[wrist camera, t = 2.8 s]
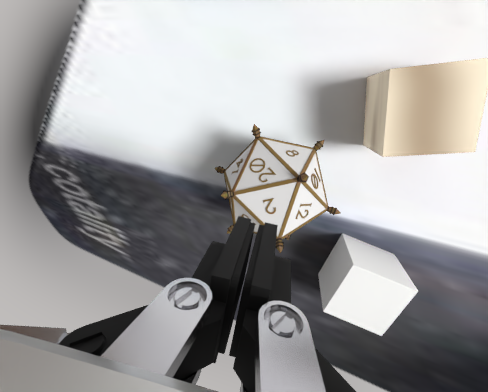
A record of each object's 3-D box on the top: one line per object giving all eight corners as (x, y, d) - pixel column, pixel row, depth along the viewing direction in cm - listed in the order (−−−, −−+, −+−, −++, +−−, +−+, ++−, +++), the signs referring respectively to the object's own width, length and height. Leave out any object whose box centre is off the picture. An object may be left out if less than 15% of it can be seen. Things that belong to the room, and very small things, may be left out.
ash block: (442, 68, 18) (494, 57, 13) (432, 140, 20) (475, 152, 15) (366, 77, 19) (390, 69, 14) (362, 144, 21) (382, 156, 16)
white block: (393, 253, 23) (418, 291, 19) (365, 293, 25) (381, 335, 21) (341, 232, 24) (353, 264, 19) (318, 273, 25) (323, 311, 21)
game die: (259, 168, 27) (171, 171, 20) (323, 111, 21) (230, 87, 14) (298, 248, 24) (212, 284, 17) (383, 208, 18) (305, 237, 11)
